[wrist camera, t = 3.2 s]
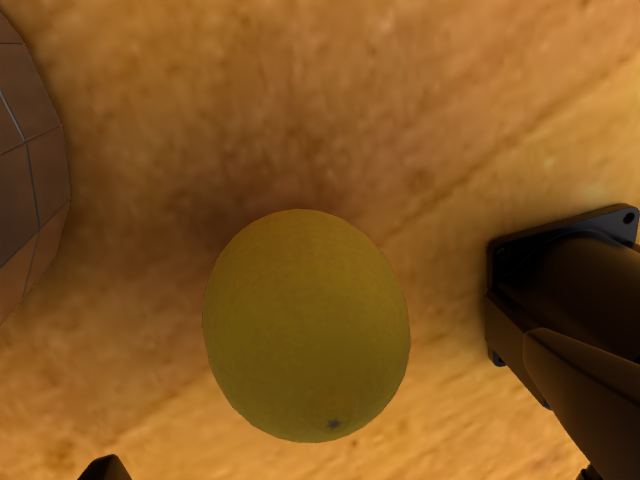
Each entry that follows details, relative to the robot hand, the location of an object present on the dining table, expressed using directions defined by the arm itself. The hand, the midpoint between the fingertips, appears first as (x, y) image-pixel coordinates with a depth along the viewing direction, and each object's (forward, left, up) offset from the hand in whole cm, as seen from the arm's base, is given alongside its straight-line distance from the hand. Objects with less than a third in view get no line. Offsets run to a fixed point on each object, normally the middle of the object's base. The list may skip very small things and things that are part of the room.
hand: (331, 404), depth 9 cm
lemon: (0, 0, -8) cm, 8 cm away
